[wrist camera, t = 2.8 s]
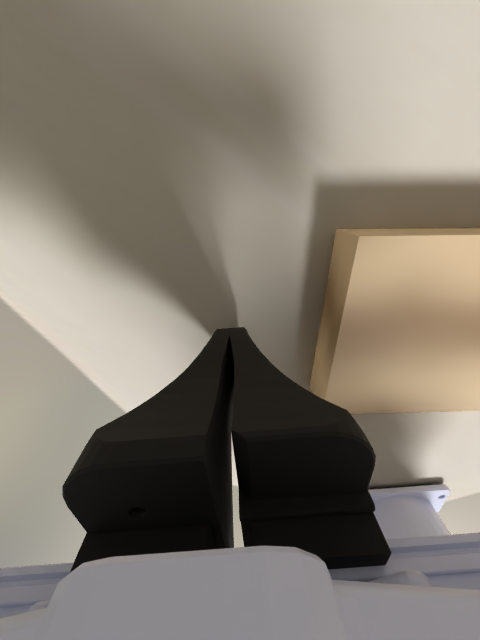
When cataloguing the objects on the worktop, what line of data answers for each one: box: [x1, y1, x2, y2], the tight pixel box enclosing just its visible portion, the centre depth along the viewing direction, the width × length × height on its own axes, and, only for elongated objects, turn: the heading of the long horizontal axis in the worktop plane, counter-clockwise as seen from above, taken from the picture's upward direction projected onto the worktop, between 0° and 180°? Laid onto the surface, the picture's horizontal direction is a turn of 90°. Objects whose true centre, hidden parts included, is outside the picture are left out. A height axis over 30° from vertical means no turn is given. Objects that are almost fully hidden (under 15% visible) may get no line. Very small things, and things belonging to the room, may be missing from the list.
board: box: [310, 228, 480, 414], centre depth 11 cm, size 8×13×2 cm, turn 90°
